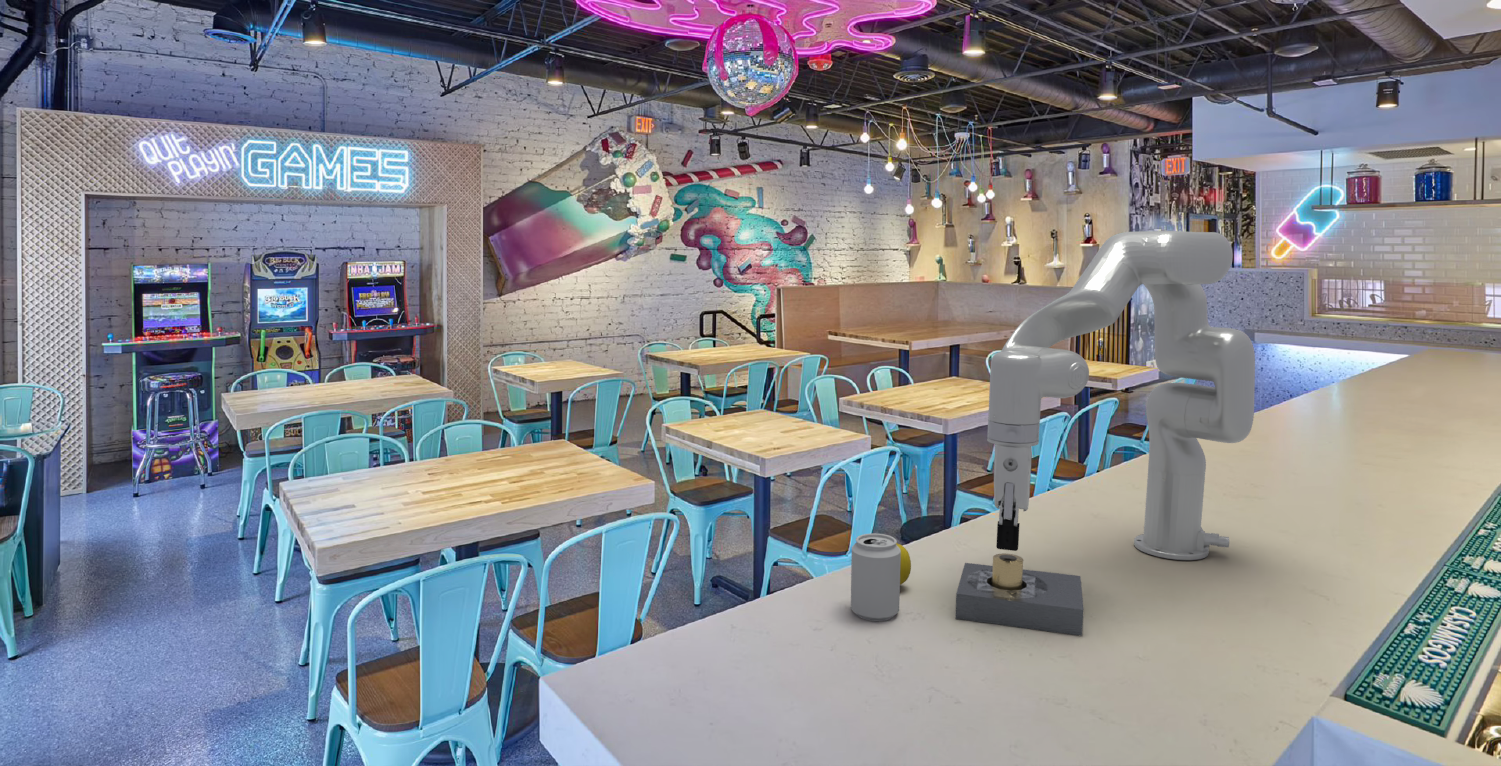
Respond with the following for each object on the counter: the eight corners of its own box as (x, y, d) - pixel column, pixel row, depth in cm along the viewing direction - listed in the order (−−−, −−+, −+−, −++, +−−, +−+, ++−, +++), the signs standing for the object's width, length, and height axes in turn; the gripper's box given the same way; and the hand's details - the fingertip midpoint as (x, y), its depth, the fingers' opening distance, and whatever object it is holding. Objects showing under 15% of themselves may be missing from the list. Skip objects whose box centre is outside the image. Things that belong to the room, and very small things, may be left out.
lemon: (873, 582, 143) (874, 536, 142) (905, 581, 143) (906, 536, 142) (881, 595, 137) (882, 548, 136) (914, 593, 138) (915, 547, 137)
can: (864, 599, 136) (865, 527, 134) (907, 610, 131) (909, 536, 130) (841, 615, 129) (842, 540, 128) (886, 627, 125) (888, 550, 124)
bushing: (1021, 603, 134) (1023, 554, 133) (1020, 614, 130) (1022, 564, 129) (991, 599, 135) (994, 551, 134) (990, 610, 131) (992, 560, 130)
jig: (1079, 599, 135) (1080, 575, 135) (1082, 635, 122) (1083, 609, 122) (964, 585, 141) (965, 562, 141) (955, 618, 128) (956, 593, 128)
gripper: (1038, 444, 120) (1031, 567, 123) (1039, 425, 134) (1033, 536, 137) (984, 440, 123) (978, 561, 125) (990, 422, 137) (985, 531, 139)
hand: (1007, 548), depth 131 cm, fingers closed
